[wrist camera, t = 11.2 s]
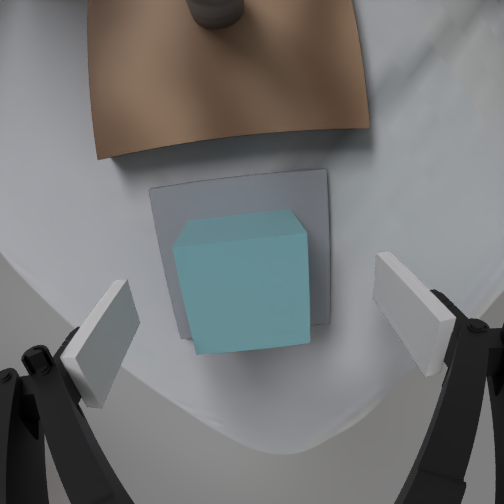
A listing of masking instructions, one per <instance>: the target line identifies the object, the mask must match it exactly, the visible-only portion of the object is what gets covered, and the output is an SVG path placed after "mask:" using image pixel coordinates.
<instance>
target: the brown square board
mask: <svg viewBox="0 0 504 504" xmlns="http://www.w3.org/2000/svg"><path fill="white" fill-rule="evenodd" d="M87 34H88V70H89V86H90V99H91V110H92V120H93V129H94V137H95V145H96V152H97V159H98V160H101V159H105V158H110V157H115V156H119V155H124V154H129V153H134V152H139V151H144V150H149V149H154V148H160V147H165V146H171V145H177V144H183V143H190V142H196V141H203V140H210V139H218V138H226V137H234V136H243V135H253V134H264V133H275V132H288V131H304V130H326V129H365V128H370V125H369V113H368V103H367V93H366V85H365V76H364V69H363V62H362V55H361V48H360V42H359V36H358V30H357V25H356V19H355V14H354V9H353V4H352V0H88V25H87Z"/></svg>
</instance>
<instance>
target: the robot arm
mask: <svg viewBox="0 0 504 504" xmlns="http://www.w3.org/2000/svg"><path fill="white" fill-rule="evenodd" d="M373 299H374V301H375V302H376V304H377V305H378V307H379V308H380V309H381V311H382V312H383V314H384V315H385V317H386V318H387V320H388V321H389V323H390V324H391V326H392V327H393V329H394V330H395V332H396V333H397V335H398V336H399V338H400V339H401V341H402V342H403V344H404V345H405V347H406V348H407V350H408V351H409V353H410V354H411V356H412V357H413V359H414V361H415V362H416V364H417V365H418V367H419V368H420V370H421V371H422V373H423V375H424V376H425V377H428V376H431V375H434V374H438V373H440V372H441V369H442V365H443V362H445V364H446V365H447V367H448V370H447V373H446V376H445V378H444V381H443V384H442V390H441V393H440V396H439V399H438V402H437V405H436V408H435V411H434V414H433V417H432V420H431V423H430V425H429V428H428V431H427V433H426V436H425V438H424V441H423V443H422V446H421V448H420V450H419V453H418V455H417V458H416V460H415V462H414V464H413V467H412V469H411V471H410V473H409V475H408V477H407V480H406V482H405V483H404V486H403V488H402V489H401V492H400V494H399V495H398V497H397V499H396V501H395V503H394V504H461V501H462V499H463V496H464V493H465V489H466V482H464V476H465V472H466V469H467V466H468V462H469V459H470V455H471V451H472V448H473V443H474V440H475V435H476V431H477V426H478V421H479V416H480V411H481V406H482V400H483V395H484V388H485V381H486V377H487V382H488V388H489V395H490V402H491V410H492V418H493V429H494V442H495V460H496V461H495V463H496V492H495V504H504V324H503V327H502V328H494V329H493V328H492V329H490V328H489V326H488V325H487V324H486V323H485V322H483V321H481V320H479V319H472V318H471V319H468V318H467V317H466V316H465V315H464V314H463V313H462V312H461V311H460V310H459V309H458V308H457V307H456V306H455V305H454V304H453V303H452V302H451V301H449V299H448V298H447V297H446V296H445V295H444V294H442V293H441V292H439V291H437V290H435V289H434V290H429V289H428V288H427V287H426V286H425V285H424V284H423V283H422V282H421V281H420V280H419V279H418V278H416V277H415V276H414V275H413V274H412V273H411V272H410V271H409V270H408V269H407V268H406V267H405V266H404V265H403V264H402V263H401V262H400V261H399V260H398V259H396V258H395V257H394V256H393V255H392V254H391V253H390V252H389V251H388V252H380V253H376V263H375V279H374V293H373ZM139 324H140V320H139V317H138V314H137V311H136V308H135V304H134V301H133V297H132V294H131V291H130V287H129V284H128V280H127V279H124V280H115V281H114V282H113V283H112V285H111V286H110V287H109V289H108V290H107V291H106V293H105V294H104V295H103V297H102V298H101V299H100V301H99V302H98V303H97V305H96V306H95V307H94V309H93V310H92V311H91V313H90V314H89V316H88V317H87V318H86V320H85V321H84V323H83V324H82V325H81V327H77V328H76V329H74V330H73V331H72V332H71V333H70V334H69V335H68V337H67V338H66V341H64V342H63V344H62V346H61V347H60V348H59V349H58V351H57V352H56V354H55V355H54V357H53V358H52V356H51V354H50V352H49V350H48V348H47V347H46V346H44V345H37V346H34V347H32V348H30V349H28V350H27V351H26V352H25V353H24V354H23V356H22V359H21V361H22V362H23V364H24V366H25V368H26V370H27V371H28V373H29V375H28V376H22V377H20V376H19V375H18V373H17V371H16V370H15V369H13V368H7V369H5V370H2V371H0V504H49V500H48V491H47V480H46V467H45V446H44V445H45V444H44V433H45V436H46V440H47V443H48V446H49V449H50V452H51V455H52V458H53V460H54V463H55V466H56V469H57V471H58V474H59V476H60V479H61V482H62V484H63V486H64V489H65V491H66V493H67V496H68V498H69V500H70V502H71V504H134V502H133V501H132V499H131V498H130V496H129V495H128V493H127V492H126V490H125V489H124V487H123V485H122V484H121V482H120V481H119V479H118V477H117V476H116V474H115V473H114V471H113V469H112V467H111V466H110V464H109V462H108V460H107V459H106V457H105V455H104V453H103V451H102V450H101V448H100V446H99V444H98V442H97V440H96V438H95V436H94V434H93V432H92V430H91V428H90V426H89V424H88V422H87V420H86V418H85V416H84V414H83V411H82V409H81V408H80V406H79V404H78V403H79V401H80V399H81V398H82V399H83V401H84V403H85V404H86V406H87V407H92V408H102V407H103V405H104V403H105V400H106V398H107V395H108V393H109V391H110V388H111V386H112V384H113V381H114V379H115V377H116V375H117V372H118V370H119V368H120V365H121V363H122V361H123V359H124V357H125V354H126V352H127V350H128V348H129V346H130V343H131V341H132V339H133V337H134V335H135V333H136V331H137V328H138V326H139Z"/></svg>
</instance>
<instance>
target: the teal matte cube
mask: <svg viewBox="0 0 504 504" xmlns="http://www.w3.org/2000/svg"><path fill="white" fill-rule="evenodd" d="M173 253H174V258H175V263H176V268H177V273H178V278H179V283H180V287H181V292H182V296H183V301H184V305H185V310H186V314H187V318H188V322H189V327H190V331H191V335H192V339H193V343H194V347H195V351H196V355H199V354H213V353H226V352H237V351H248V350H257V349H266V348H275V347H283V346H291V345H298V344H306V343H310V295H309V265H308V242H307V232H306V230H305V229H304V228H303V226H302V225H301V223H300V222H299V220H298V219H297V217H296V216H295V215H294V213H293V212H292V210H291V209H289V210H279V211H269V212H260V213H250V214H241V215H233V216H224V217H216V218H207V219H199V220H191V221H188V222H187V224H186V225H185V227H184V229H183V230H182V232H181V234H180V236H179V237H178V239H177V241H176V242H175V244H174V246H173Z"/></svg>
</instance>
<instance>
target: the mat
mask: <svg viewBox="0 0 504 504" xmlns="http://www.w3.org/2000/svg"><path fill="white" fill-rule="evenodd" d="M149 195H150V201H151V207H152V212H153V218H154V223H155V228H156V234H157V239H158V244H159V248H160V253H161V258H162V263H163V267H164V272H165V276H166V281H167V285H168V289H169V294H170V298H171V302H172V306H173V310H174V314H175V318H176V322H177V326H178V330H179V334H180V337H181V339H187V338H192V335H191V331H190V327H189V322H188V318H187V314H186V310H185V305H184V301H183V296H182V292H181V287H180V283H179V278H178V273H177V268H176V263H175V258H174V253H173V246H174V244H175V242H176V241H177V239H178V237H179V236H180V234H181V232H182V230H183V229H184V227H185V225H186V224H187V222H188V221H191V220H199V219H207V218H216V217H224V216H233V215H241V214H250V213H260V212H269V211H279V210H289V209H291V210H292V212H293V213H294V215H295V216H296V217H297V219H298V220H299V222H300V223H301V225H302V226H303V228H304V229H305V230H306V232H307V242H308V265H309V295H310V326H312V325H319V324H326V323H330V243H329V212H328V190H327V173H326V169H311V170H298V171H286V172H275V173H264V174H255V175H245V176H236V177H228V178H220V179H212V180H204V181H197V182H190V183H183V184H176V185H169V186H163V187H157V188H151V189H149Z"/></svg>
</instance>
